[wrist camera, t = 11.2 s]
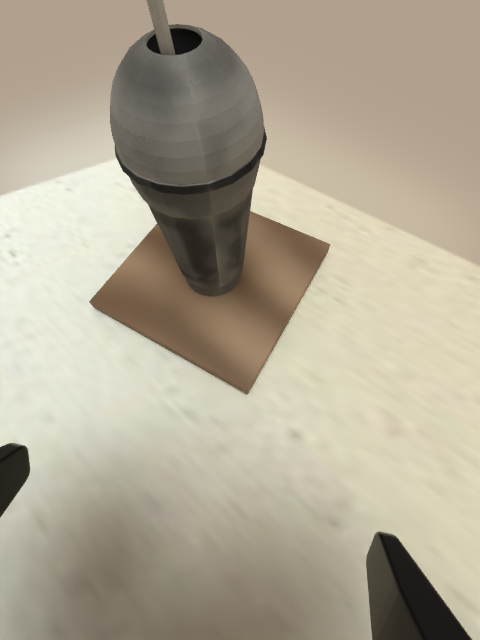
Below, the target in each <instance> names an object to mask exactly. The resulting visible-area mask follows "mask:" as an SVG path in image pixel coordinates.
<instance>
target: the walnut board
mask: <svg viewBox="0 0 480 640" xmlns="http://www.w3.org/2000/svg"><path fill="white" fill-rule="evenodd" d="M329 247H330V244H328V243H326V242H323V241H321V240H319V239H316V238H314V237H311V236H309V235H306V234H304V233H302V232H299V231H297V230H294V229H292V228H290V227H287V226H285V225H282V224H280V223H277V222H275V221H273V220H270V219H268V218H265V217H263V216H261V215H258V214H256V213H253V212H251V211H250V215H249V223H248V232H247V240H246V248H245V256H244V263H243V268H242V273H241V278H240V281H239V282H238V284H237V285H236V287H235V288H233V289H232V290H231V291H230V292H228V293H226V294H223V295H221V296H213V297H211V296H204V295H201V294H199V293H197V292H195V291H194V290H193V289H192V288H191V287H190V286H189V284H188V282H187V280H186V278H185V277H184V276H183V274H182V272H181V270H180V268H179V266H178V264H177V262H176V260H175V258H174V256H173V254H172V252H171V250H170V248H169V246H168V244H167V242H166V240H165V238H164V236H163V234H162V232H161V230H160V228H159V226H158V223H157V224H156V226H155V227H154V228H153V229H152V230H151V231H150V232H149V234H148V235H147V236H146V237H145V238H144V239H143V240H142V242H141V243H140V244H139V245H138V246H137V247H136V249H135V250H134V251H133V252H132V253H131V254H130V255H129V257H128V258H127V259H126V260H125V261H124V262H123V263H122V265H121V266H120V267H119V268H118V269H117V270H116V272H115V273H114V274H113V275H112V276H111V277H110V278H109V280H108V281H107V282H106V283H105V284H104V285H103V287H102V288H101V289H100V290H99V291H98V292H97V293H96V295H95V296H94V297H93V298H92V299H91V300H90V301H89V302H90V303H91V304H92V306H93V307H94V308H96V309H97V310H99V311H101V312H103V313H105V314H106V315H108V316H110V317H112V318H113V319H115V320H117V321H119V322H120V323H122V324H124V325H126V326H128V327H129V328H131V329H133V330H135V331H136V332H138V333H140V334H142V335H143V336H145V337H147V338H149V339H151V340H152V341H154V342H156V343H158V344H159V345H161V346H163V347H165V348H166V349H168V350H170V351H172V352H174V353H175V354H177V355H179V356H181V357H182V358H184V359H186V360H188V361H189V362H191V363H193V364H195V365H197V366H198V367H200V368H202V369H204V370H205V371H207V372H209V373H211V374H212V375H214V376H216V377H218V378H220V379H221V380H223V381H225V382H227V383H228V384H230V385H232V386H234V387H235V388H237V389H239V390H241V391H243V392H244V393H246V394H248V393H249V391H250V389H251V387H252V385H253V384H254V382H255V380H256V378H257V377H258V375H259V373H260V371H261V369H262V368H263V366H264V364H265V362H266V361H267V359H268V357H269V355H270V353H271V352H272V350H273V348H274V346H275V345H276V343H277V341H278V339H279V337H280V336H281V334H282V332H283V330H284V329H285V327H286V325H287V323H288V321H289V320H290V318H291V316H292V314H293V313H294V311H295V309H296V307H297V305H298V304H299V302H300V300H301V298H302V297H303V295H304V293H305V291H306V289H307V288H308V286H309V284H310V282H311V281H312V279H313V277H314V275H315V273H316V272H317V270H318V268H319V266H320V265H321V263H322V261H323V259H324V257H325V256H326V254H327V252H328V249H329Z"/></svg>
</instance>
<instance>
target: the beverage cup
mask: <svg viewBox="0 0 480 640" xmlns="http://www.w3.org/2000/svg"><path fill="white" fill-rule="evenodd" d="M147 3H148V7H149V11H150V14H151V18H152V22H153V26H154V30H153V31H151V32H149V33H147V34H145V35H144V36H143V37H141V38H140V39H139V40H138V41H137V42H136V43H135V44H134V45H132V46H131V47H130V48H129V50H128V52H127V53H126V55H125V56H124V58H123V60H122V61H121V63H120V65H119V67H118V69H117V71H116V74H115V77H114V79H113V84H112V90H111V101H110V124H111V131H112V136H113V139H114V142H115V154H116V157H117V160H118V162H119V164H120V166H121V168H122V170H123V172H125V173H126V174H127V175H128V176H129V177H130V179H131V181H132V184H133V185H134V186H135V188H136V189H137V191H138V192H139V194H140V195H141V197H142V198H143V200H145V201H146V202H147V203H148V205H149V207H150V209H151V211H152V213H153V215H154V217H155V219H156V221H157V223H158V226H159V228H160V230H161V232H162V234H163V236H164V238H165V240H166V242H167V244H168V246H169V248H170V250H171V252H172V254H173V256H174V258H175V260H176V262H177V264H178V266H179V268H180V270H181V272H182V274H183V276H184V277H185V278H186V280H187V282H188V284H189V286H190V287H191V288H192V289H193V290H194V291H195V292H197V293H199V294H201V295H204V296H211V297H213V296H221V295H223V294H226V293H228V292H230V291H231V290H232V289H233V288H235V287H236V285H237V284H238V282H239V281H240V278H241V273H242V268H243V263H244V256H245V248H246V240H247V232H248V223H249V215H250V207H251V199H252V191H253V187H254V184H255V180H256V176H257V172H258V168H259V164H260V159H261V157H262V156H263V154H264V149H265V144H266V140H267V138H266V133H265V129H264V125H263V114H262V109H261V104H260V100H259V96H258V93H257V89H256V86H255V83H254V81H253V78H252V76H251V74H250V72H249V70H248V69H247V67H246V65H245V64H244V63H243V61H241V59H240V58H239V56H238V55H237V54H236V53H235V52H234V51H233V50H232V49H231V47H230V46H229V45H227V44H226V43H225V42H224V41H223V40H222V39H220V38H219V37H217V36H215V35H213V34H211V33H210V32H207V31H205V30H204V29H202V28H198V27H194V26H190V25H179V24H176V25H168V20H167V16H166V12H165V7H164V3H163V0H147Z"/></svg>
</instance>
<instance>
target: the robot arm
mask: <svg viewBox="0 0 480 640" xmlns="http://www.w3.org/2000/svg"><path fill="white" fill-rule="evenodd" d="M29 473H30V463H29V454H28V449H27V447H26V446H24V445H19V444H15V443H9V444H6V445H4V446H2V447H0V517H1V516H2V514H3V513H4V511H5V510H6V509H7V507H8V506H9V504H10V503H11V501H12V500H13V499H14V497H15V496H16V494H17V493H18V492H19V490H20V489H21V487H22V486H23V484H24V483H25V482H26V480H27V478H28V476H29ZM366 568H367V580H368V592H369V604H370V616H371V628H372V639H373V640H472V639H471V638H470V636H469V635H468V634H467V632H466V631H465V629H464V628H463V627H462V625H461V624H460V623H459V621H458V620H457V619H456V617H455V616H454V614H453V613H452V612H451V610H450V609H449V608H448V606H447V605H446V603H445V602H444V601H443V599H442V598H441V597H440V595H439V594H438V593H437V591H436V590H435V588H434V587H433V586H432V584H431V583H430V582H429V580H428V579H427V577H426V576H425V575H424V573H423V572H422V571H421V569H420V568H419V567H418V565H417V564H416V562H415V561H414V560H413V558H412V557H411V556H410V554H409V553H408V551H407V550H406V549H405V547H404V546H403V545H402V543H401V542H400V541H399V539H398V538H397V537H396V536H394V535H392V534H388V533H384V532H377V533H376V534H375V536H374V538H373V541H372V543H371V546H370V549H369V551H368V554H367V560H366Z"/></svg>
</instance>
